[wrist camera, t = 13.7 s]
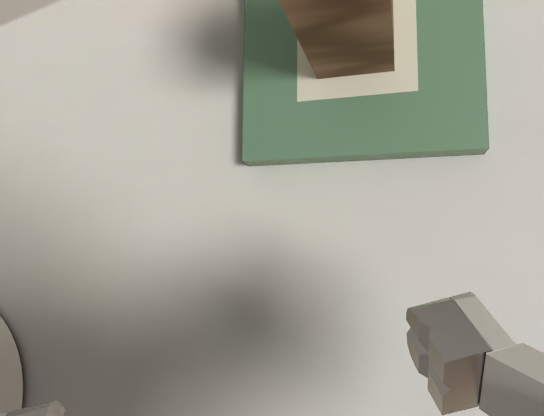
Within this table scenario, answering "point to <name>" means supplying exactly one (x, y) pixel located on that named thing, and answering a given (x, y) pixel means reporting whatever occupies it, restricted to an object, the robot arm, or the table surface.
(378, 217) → the table surface
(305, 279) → the table surface
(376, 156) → the plate
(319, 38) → the walnut block
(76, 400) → the table surface
